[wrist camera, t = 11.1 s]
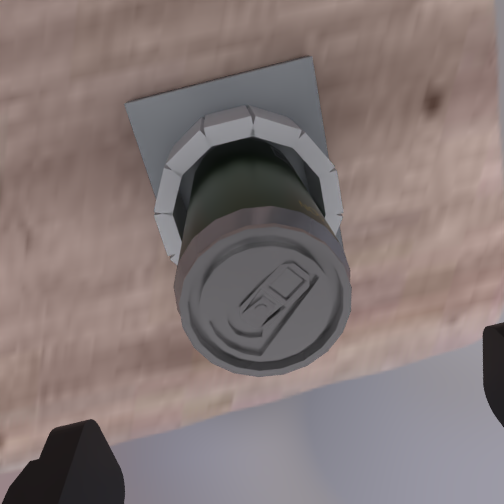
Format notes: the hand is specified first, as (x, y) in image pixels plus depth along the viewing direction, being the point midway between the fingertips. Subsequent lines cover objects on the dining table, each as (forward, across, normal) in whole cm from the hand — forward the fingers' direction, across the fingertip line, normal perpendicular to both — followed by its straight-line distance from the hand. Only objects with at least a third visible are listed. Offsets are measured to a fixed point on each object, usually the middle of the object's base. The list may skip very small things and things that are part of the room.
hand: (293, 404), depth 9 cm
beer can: (+16, 0, 0) cm, 16 cm away
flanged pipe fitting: (+17, 0, 0) cm, 17 cm away
